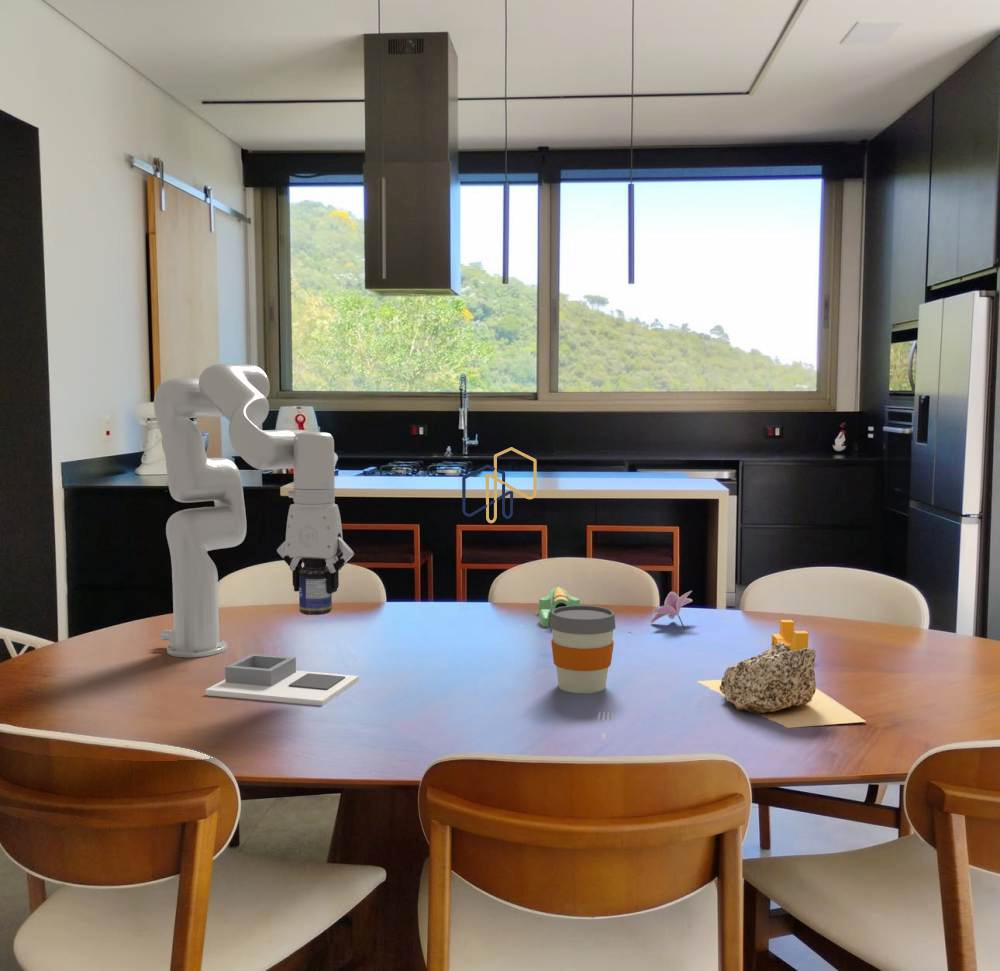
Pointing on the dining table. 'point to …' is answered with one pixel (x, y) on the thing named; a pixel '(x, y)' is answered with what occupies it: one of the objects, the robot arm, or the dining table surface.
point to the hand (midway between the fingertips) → (315, 590)
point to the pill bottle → (314, 588)
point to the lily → (672, 606)
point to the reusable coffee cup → (582, 647)
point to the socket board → (279, 681)
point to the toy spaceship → (554, 604)
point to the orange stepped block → (790, 636)
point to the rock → (781, 689)
